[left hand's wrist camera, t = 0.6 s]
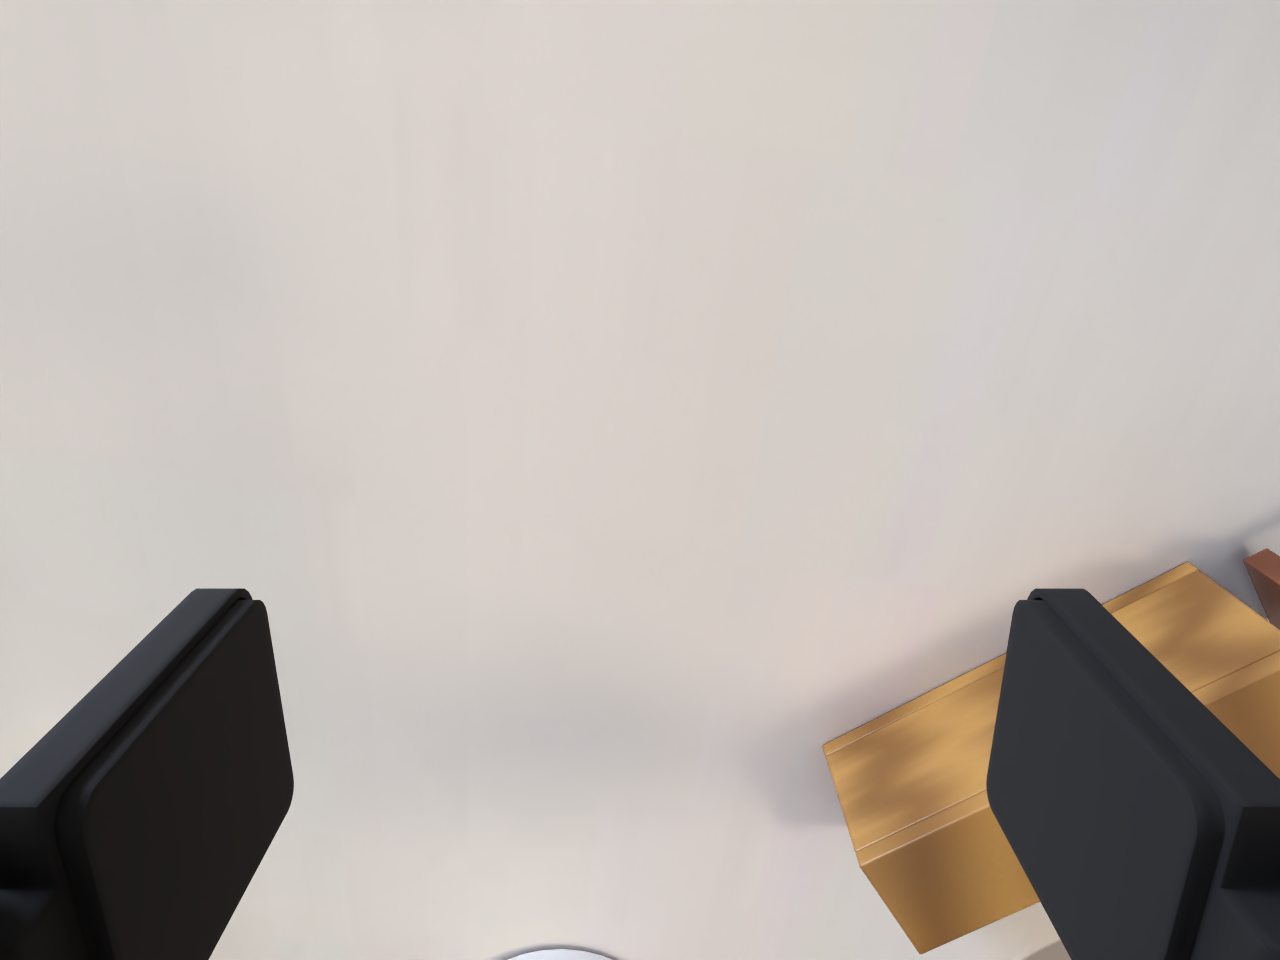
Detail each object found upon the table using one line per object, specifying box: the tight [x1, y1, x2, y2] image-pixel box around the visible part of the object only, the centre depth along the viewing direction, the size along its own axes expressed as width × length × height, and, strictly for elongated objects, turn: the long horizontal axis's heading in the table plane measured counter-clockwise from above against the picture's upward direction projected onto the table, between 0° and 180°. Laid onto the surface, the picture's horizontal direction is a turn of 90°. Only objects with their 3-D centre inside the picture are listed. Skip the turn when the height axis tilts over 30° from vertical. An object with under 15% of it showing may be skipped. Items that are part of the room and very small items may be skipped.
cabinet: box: [823, 562, 1280, 954], centre depth 42 cm, size 20×6×9 cm, turn 122°
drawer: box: [1243, 549, 1280, 630], centre depth 41 cm, size 25×5×7 cm, turn 122°
